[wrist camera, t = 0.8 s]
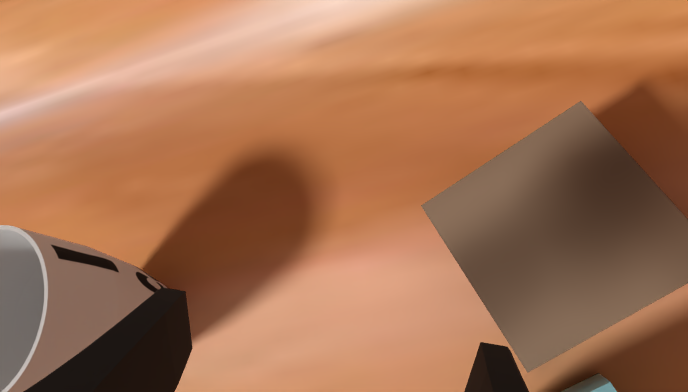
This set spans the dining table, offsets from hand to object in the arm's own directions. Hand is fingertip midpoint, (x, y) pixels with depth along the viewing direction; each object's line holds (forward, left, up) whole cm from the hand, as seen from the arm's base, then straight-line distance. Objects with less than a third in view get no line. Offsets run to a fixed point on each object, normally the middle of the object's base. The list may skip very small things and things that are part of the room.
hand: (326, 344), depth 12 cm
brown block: (+1, -7, -14) cm, 16 cm away
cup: (+9, +16, -14) cm, 23 cm away
